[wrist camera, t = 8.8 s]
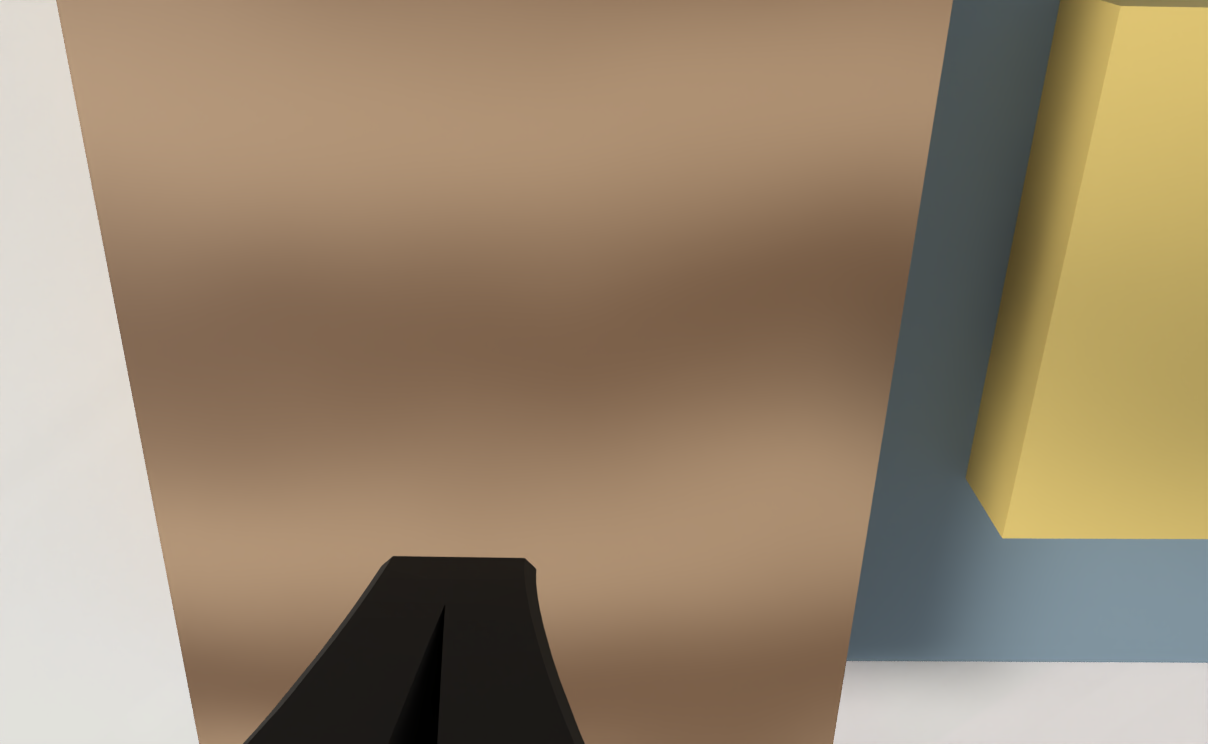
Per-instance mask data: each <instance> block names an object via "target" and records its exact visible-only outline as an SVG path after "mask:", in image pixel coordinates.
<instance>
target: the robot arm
mask: <svg viewBox="0 0 1208 744" xmlns="http://www.w3.org/2000/svg"><path fill="white" fill-rule="evenodd" d="M243 744H585V743H584V740H583V738H582V736H581V733H580V731H579V729H578V726H577V723H576V721H575V718H574V715H573V713H572V710H571V708H570V705H569V702H568V700H567V697H566V694H565V692H564V689H563V686H562V684H561V681H560V679H559V676H558V673H557V669H556V666H555V663H554V660H553V657H552V654H551V650H550V647H549V643H548V640H547V636H546V633H545V629H544V625H543V621H542V616H541V612H540V607H539V601H538V594H537V585H536V568H535V567H534V566H533V565H532V564H531V563H530V562H529V561H527V560H526V559H525V558H496V557H428V556H392V557H391V558H390V559H389V560H388V561H387V562H385V563H384V564H383V565H382V566H381V567H380V569H379V570H378V572H377V573H376V575H375V576H374V578H373V579H372V581H371V582H370V584H369V585H368V587H367V588H366V589H365V591H364V592H363V594H362V595H361V597H360V598H359V600H358V601H357V602H356V604H355V605H354V607H353V608H352V609H351V611H350V612H349V614H348V615H347V616H346V618H345V619H344V620H343V622H342V623H341V624H340V626H339V627H338V628H337V630H336V631H335V632H334V634H333V635H332V636H331V638H330V639H329V640H328V642H327V643H326V644H325V646H324V647H323V648H322V650H321V651H320V652H319V654H318V655H317V656H316V657H315V659H314V660H313V661H312V662H311V663H310V665H309V666H308V667H307V668H306V670H305V671H304V672H303V673H302V675H301V676H300V677H299V678H298V679H297V681H296V682H295V683H294V684H293V686H292V687H291V688H290V689H289V691H288V692H287V693H286V694H285V695H284V697H283V698H282V699H281V700H280V702H279V703H278V704H277V705H276V707H275V708H274V709H273V710H272V711H271V712H270V714H269V715H268V716H267V717H266V718H265V720H264V721H263V722H262V723H261V724H260V725H259V726H258V728H257V729H256V730H255V731H254V732H253V733H252V734H251V735H250V736H249V737H248V739H247V740H246V741H245V742H244V743H243Z"/></svg>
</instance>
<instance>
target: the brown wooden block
mask: <svg viewBox="0 0 1208 744" xmlns="http://www.w3.org/2000/svg"><path fill="white" fill-rule="evenodd" d="M56 1H57V7H58V12H59V17H60V22H61V27H62V33H63V38H64V43H65V48H66V53H67V59H68V64H69V69H70V74H71V79H72V85H73V90H74V95H75V100H76V105H77V111H78V116H79V121H80V126H81V131H82V137H83V142H84V147H85V152H86V157H87V163H88V168H89V173H90V178H91V183H92V189H93V194H94V199H95V204H96V209H97V215H98V220H99V225H100V230H101V235H102V241H103V246H104V251H105V256H106V261H107V267H108V272H109V277H110V282H111V287H112V293H113V298H114V303H115V308H116V313H117V319H118V324H119V329H120V334H121V339H122V345H123V350H124V355H125V360H126V365H127V371H128V376H129V381H130V386H131V391H132V396H133V402H134V407H135V412H136V417H137V422H138V428H139V433H140V438H141V443H142V448H143V454H144V459H145V464H146V469H147V474H148V480H149V485H150V490H151V495H152V500H153V506H154V511H155V516H156V521H157V526H158V532H159V537H160V542H161V547H162V552H163V558H164V563H165V568H166V573H167V578H168V584H169V589H170V594H171V599H172V604H173V610H174V615H175V620H176V625H177V630H178V636H179V641H180V646H181V651H182V656H183V662H184V667H185V672H186V677H187V682H188V688H189V693H190V698H191V703H192V708H193V714H194V719H195V724H196V729H197V734H198V740H199V744H243V743H244V742H245V741H246V740H247V739H248V737H249V736H250V735H251V734H252V733H253V732H254V731H255V730H256V729H257V728H258V726H259V725H260V724H261V723H262V722H263V721H264V720H265V718H266V717H267V716H268V715H269V714H270V712H271V711H272V710H273V709H274V708H275V707H276V705H277V704H278V703H279V702H280V700H281V699H282V698H283V697H284V695H285V694H286V693H287V692H288V691H289V689H290V688H291V687H292V686H293V684H294V683H295V682H296V681H297V679H298V678H299V677H300V676H301V675H302V673H303V672H304V671H305V670H306V668H307V667H308V666H309V665H310V663H311V662H312V661H313V660H314V659H315V657H316V656H317V655H318V654H319V652H320V651H321V650H322V648H323V647H324V646H325V644H326V643H327V642H328V640H329V639H330V638H331V636H332V635H333V634H334V632H335V631H336V630H337V628H338V627H339V626H340V624H341V623H342V622H343V620H344V619H345V618H346V616H347V615H348V614H349V612H350V611H351V609H352V608H353V607H354V605H355V604H356V602H357V601H358V600H359V598H360V597H361V595H362V594H363V592H364V591H365V589H366V588H367V587H368V585H369V584H370V582H371V581H372V579H373V578H374V576H375V575H376V573H377V572H378V570H379V569H380V567H381V566H382V565H383V564H384V563H385V562H387V561H388V560H389V559H390V558H391V557H392V556H428V557H496V558H525V559H526V560H527V561H529V562H530V563H531V564H532V565H533V566H534V567H535V568H536V585H537V594H538V601H539V607H540V612H541V616H542V621H543V625H544V629H545V633H546V636H547V640H548V643H549V647H550V650H551V654H552V657H553V660H554V663H555V666H556V669H557V673H558V676H559V679H560V681H561V684H562V686H563V689H564V692H565V694H566V697H567V700H568V702H569V705H570V708H571V710H572V713H573V715H574V718H575V721H576V723H577V726H578V729H579V731H580V733H581V736H582V738H583V740H584V743H585V744H833V740H834V734H835V728H836V722H837V715H838V709H839V703H840V697H841V691H842V684H843V678H844V672H845V666H846V660H847V653H848V647H849V641H850V635H851V629H852V622H853V616H854V610H855V604H856V598H857V592H858V585H859V579H860V573H861V567H862V561H863V554H864V548H865V542H866V536H867V530H868V523H869V517H870V511H871V505H872V499H873V493H874V486H875V480H876V474H877V468H878V462H879V455H880V449H881V443H882V437H883V431H884V424H885V418H886V412H887V406H888V400H889V393H890V387H891V381H892V375H893V369H894V363H895V356H896V350H897V344H898V338H899V332H900V325H901V319H902V313H903V307H904V301H905V294H906V288H907V282H908V276H909V270H910V263H911V257H912V251H913V245H914V239H915V233H916V226H917V220H918V214H919V208H920V202H921V195H922V189H923V183H924V177H925V171H926V164H927V158H928V152H929V146H930V140H931V134H932V127H933V121H934V115H935V109H936V103H937V96H938V90H939V84H940V78H941V72H942V65H943V59H944V53H945V47H946V41H947V34H948V28H949V22H950V16H951V10H952V4H953V0H56Z"/></svg>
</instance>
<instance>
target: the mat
mask: <svg viewBox="0 0 1208 744" xmlns="http://www.w3.org/2000/svg"><path fill="white" fill-rule="evenodd" d="M1059 4H1060V0H953V4H952V10H951V16H950V22H949V28H948V34H947V41H946V47H945V53H944V59H943V65H942V72H941V78H940V84H939V90H938V96H937V103H936V109H935V115H934V121H933V127H932V134H931V140H930V146H929V152H928V158H927V164H926V171H925V177H924V183H923V189H922V195H921V202H920V208H919V214H918V220H917V226H916V233H915V239H914V245H913V251H912V257H911V263H910V270H909V276H908V282H907V288H906V294H905V301H904V307H903V313H902V319H901V325H900V332H899V338H898V344H897V350H896V356H895V363H894V369H893V375H892V381H891V387H890V393H889V400H888V406H887V412H886V418H885V424H884V431H883V437H882V443H881V449H880V455H879V462H878V468H877V474H876V480H875V486H874V493H873V499H872V505H871V511H870V517H869V523H868V530H867V536H866V542H865V548H864V554H863V561H862V567H861V573H860V579H859V585H858V592H857V598H856V604H855V610H854V616H853V622H852V629H851V635H850V641H849V647H848V653H847V660H846V661H997V662H1191V663H1208V539H1032V538H1002V537H1001V536H1000V534H999V532H998V531H997V529H996V527H995V526H994V524H993V523H992V521H991V519H990V518H989V516H988V514H987V513H986V511H985V509H984V508H983V506H982V505H981V503H980V501H979V500H978V498H977V496H976V495H975V493H974V492H973V490H972V488H971V487H970V485H969V483H968V482H967V480H966V473H967V468H968V463H969V458H970V453H971V448H972V443H973V438H974V433H975V428H976V423H977V418H978V413H979V408H980V403H981V398H982V393H983V388H984V383H985V377H986V372H987V367H988V362H989V357H990V352H991V347H992V342H993V337H994V332H995V327H996V322H997V317H998V312H999V307H1000V302H1001V297H1002V292H1003V287H1004V282H1005V277H1006V272H1007V266H1008V261H1009V256H1010V251H1011V246H1012V241H1013V236H1014V231H1015V226H1016V221H1017V216H1018V211H1019V206H1020V201H1021V196H1022V191H1023V186H1024V181H1025V176H1026V171H1027V166H1028V161H1029V155H1030V150H1031V145H1032V140H1033V135H1034V130H1035V125H1036V120H1037V115H1038V110H1039V105H1040V100H1041V95H1042V90H1043V85H1044V80H1045V75H1046V70H1047V65H1048V60H1049V55H1050V50H1051V44H1052V39H1053V34H1054V29H1055V24H1056V19H1057V14H1058V9H1059Z"/></svg>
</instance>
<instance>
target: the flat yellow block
mask: <svg viewBox="0 0 1208 744" xmlns="http://www.w3.org/2000/svg"><path fill="white" fill-rule="evenodd" d="M966 480H967V482H968V483H969V485H970V487H971V488H972V490H973V492H974V493H975V495H976V496H977V498H978V500H979V501H980V503H981V505H982V506H983V508H984V509H985V511H986V513H987V514H988V516H989V518H990V519H991V521H992V523H993V524H994V526H995V527H996V529H997V531H998V532H999V534H1000V536H1001V537H1002V538H1032V539H1208V0H1060V4H1059V9H1058V14H1057V19H1056V24H1055V29H1054V34H1053V39H1052V44H1051V50H1050V55H1049V60H1048V65H1047V70H1046V75H1045V80H1044V85H1043V90H1042V95H1041V100H1040V105H1039V110H1038V115H1037V120H1036V125H1035V130H1034V135H1033V140H1032V145H1031V150H1030V155H1029V161H1028V166H1027V171H1026V176H1025V181H1024V186H1023V191H1022V196H1021V201H1020V206H1019V211H1018V216H1017V221H1016V226H1015V231H1014V236H1013V241H1012V246H1011V251H1010V256H1009V261H1008V266H1007V272H1006V277H1005V282H1004V287H1003V292H1002V297H1001V302H1000V307H999V312H998V317H997V322H996V327H995V332H994V337H993V342H992V347H991V352H990V357H989V362H988V367H987V372H986V377H985V383H984V388H983V393H982V398H981V403H980V408H979V413H978V418H977V423H976V428H975V433H974V438H973V443H972V448H971V453H970V458H969V463H968V468H967V473H966Z"/></svg>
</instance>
